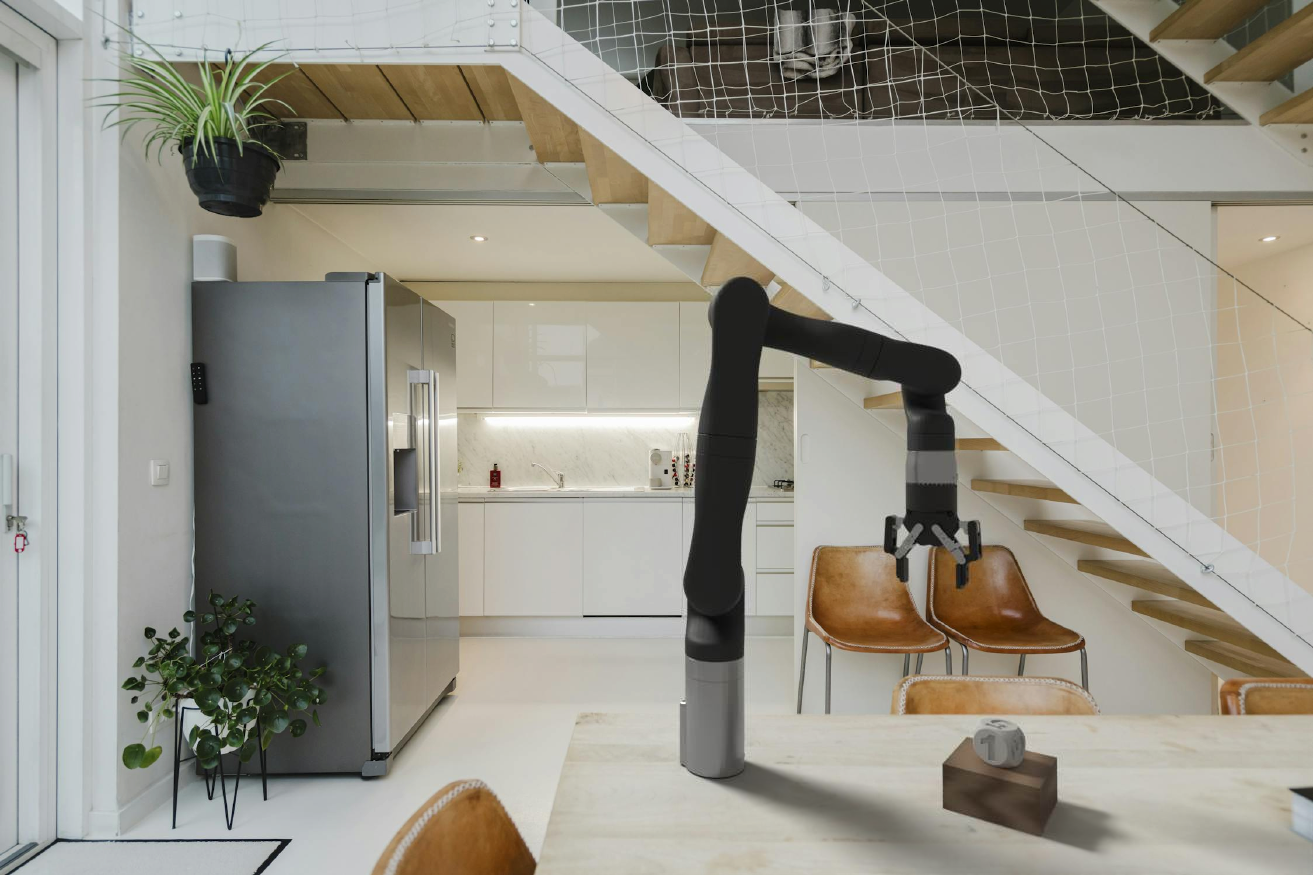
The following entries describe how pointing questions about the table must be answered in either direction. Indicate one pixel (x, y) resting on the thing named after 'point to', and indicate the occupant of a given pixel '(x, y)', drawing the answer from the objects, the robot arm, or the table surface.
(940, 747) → the table surface
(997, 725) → the die
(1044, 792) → the pedestal
